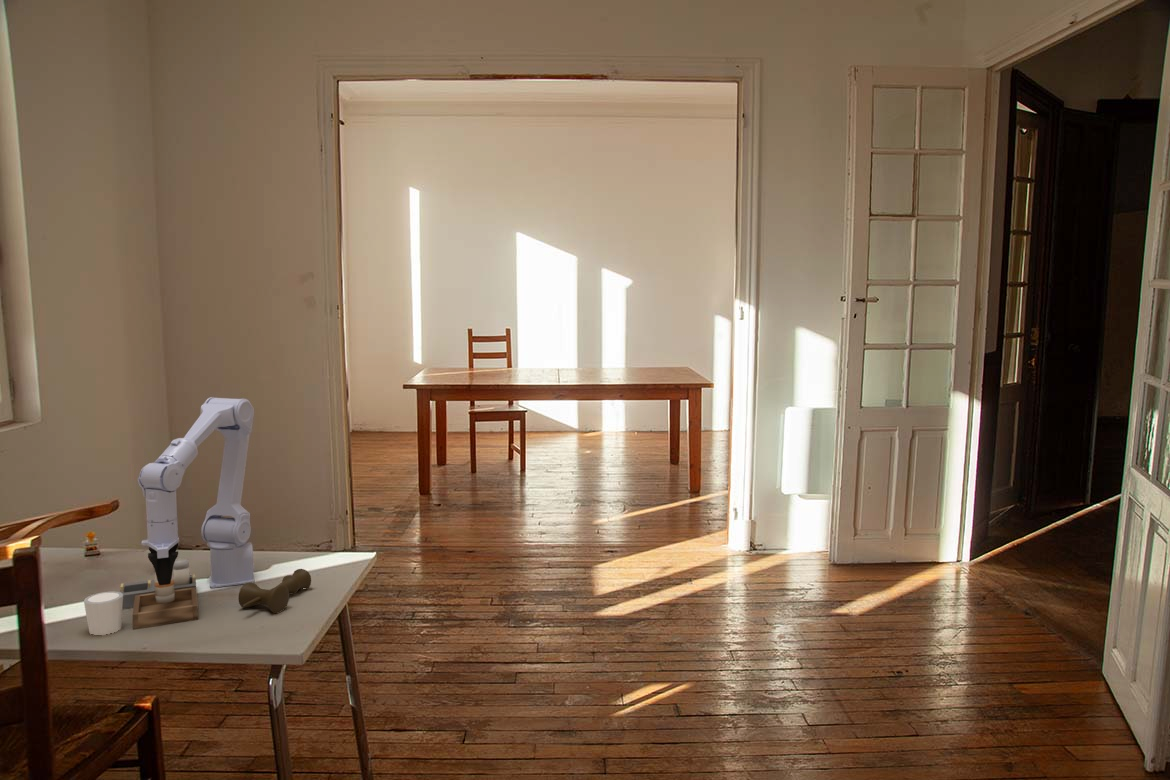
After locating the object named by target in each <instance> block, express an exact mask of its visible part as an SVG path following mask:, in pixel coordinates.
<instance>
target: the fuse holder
mask: <svg viewBox="0 0 1170 780" xmlns="http://www.w3.org/2000/svg"><path fill="white" fill-rule="evenodd" d="M196 577H197V576H196V574H195V573H194V574H190V584H186V585H179V586H174V590H178V589H186V588H193V587H196V588H197V581H196V579H197V578H196ZM119 589H120V591H119V592H121V593H122V594H123V606H122V610H124V609H130V608H132V609H133V607H134V599H135V595H141V594H149V593H155V579H148V580H143V581H142V580H141V581H135V582H127V583H120V587H119Z"/></svg>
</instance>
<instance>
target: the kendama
mask: <svg viewBox="0 0 1170 780" xmlns="http://www.w3.org/2000/svg"><path fill="white" fill-rule="evenodd" d="M311 585H312V576H311V574H310V572H309V571H308V570H306V569H304V568H297V569H295V570H294V571H293V573H292V574H291V575H290V574H289V575H285V576H284V577H283V578H282V581H281V583H279V584H278V585H276V586H275V587H273V588H271V589H264V588H261V587H260V586H259V585H257V584H256V583H255V582H249V583H245V584H242V587H240V590H239V592H238V599H237V600H238V605H240V607H241V608H244V609H248V608H251V607H255V606H257V605H259V606H260V605H262V606H267V608H268V609H269V610H270V611H271V613H274V614H278V613H277V612H279V613H281V612H282V611H281V610H283V609H284V610H285V609H286V608H287V606H288V603H289V601H290V593H293V594H296V593H298V590H300V589H303V588H308V589H309V588H310V587H311ZM284 610H283V611H284ZM280 611H281V612H280Z"/></svg>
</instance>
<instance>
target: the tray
mask: <svg viewBox="0 0 1170 780" xmlns="http://www.w3.org/2000/svg"><path fill="white" fill-rule="evenodd" d="M174 593H175V600H174V601H172V602H169V603H156V594H155V593H149V594H141V595H135V599H134V607H132V629H133V630H137V629H138V630H139V629H144V628H150V627H157V625H158V626H163V625H171V624H178V623H183V622H191V621H197V620H199V610H198V609H199V608H198V596H197V595H198V594H197V593H198V592H197V586H196V587H193V588H186V589H178V590H174Z"/></svg>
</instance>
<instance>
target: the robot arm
mask: <svg viewBox="0 0 1170 780" xmlns="http://www.w3.org/2000/svg"><path fill="white" fill-rule="evenodd" d="M199 411H200V414H199V417H198V418H197V419H196V420H195V422H193V424H192V426H191V427H190V429H189V430H188V431H187V433H185V435H184V437H178V438H175V439H172V441H170V444H169V445H168V447H167V448H165V450H164V451H163V452H162V453H161V455H159V457H157V459H155V461H154V462H150V463H147V464H146V465H144V466H143V467H142V468H141V470H140V472H139V476H138V478H137V483H138V486H139V487H140V488H141V490H142V491H141V492H142V497H143V498H144V499H145V510H146V511H145V512H146V531H147V539H143V540H141V546H145V547H147V546H148V550H149V553H147V558H148V560H149V562H150V563H151V565H152V566H153V569H155V572H156V576H157V580H158V583H159V585H168V584H170V583H171V578H172V571H173V566H174V563H175V560H176V559H178V556H179V551H178V550H177V549H178V547H179V542H180V537H179V534H178V533H179V529H178V526H179V525H178V512H177V511H178V509H177V508H178V505H177V504H178V503H177V489H178V488H180V486H181V484H182V482H183V476H184V475H185V473H186V469H187V468H188V467H189V466H190V464H191V463H192V462H193V461H194V460H195V459H196V457H197V456H198V455H199V450H198V447H199V446H200V445H201V444H202V443H203V442H204V441H205V440H206V439H207V438H209V436H210V435H212V433H213V432H215V430H216V431H217V432H219V433H220V434H221V435H222V436H223V437H224V445H223V453H222V461H221V467H220V468H221V469H220V475H219V476H220V477H219V483H218V490H217V497H216V498H217V499H216V504H214V505H213V506H212V507H210V508H209V509H208V510H207V511H206V513H205V514H206V515H205V518H204V521H203V523H202V525H201V528H200V529H201V530H200V535H201V538H202V539H203V541H204V542H205V543H206V546H207V547H208V548H210V549H209V550H210V551H209V553H210V555H209V557H210V576H208V579H209V587H210V589H215V588H222V587H229V586H236V585H237V586H238V585H245V584H246V583H249V582H252V583H255V578H254V577H255V576H254V574H255V565H254V549H253V542H250V541H249V542H247V541H248V540H249V538H250V535H251V532H252V528H251V513H250V512H249V511H248V510H247V509H246V508H245V507H243V506H242V497H243V490H244V482H245V474H246V468H247V467H246V465H247V458H248V450H249V444H250V435H251V434H252V433H253V423H254V415H255V408H254V407H253V405H252V403H251V402H250V400H249V399H247V398H228V397H215V396H211V397H208V398H207V399H206V400H205V401H204V403H203V404H202V405H201V406H200V410H199ZM223 516H224V517H223ZM155 572H154V573H155Z"/></svg>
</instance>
